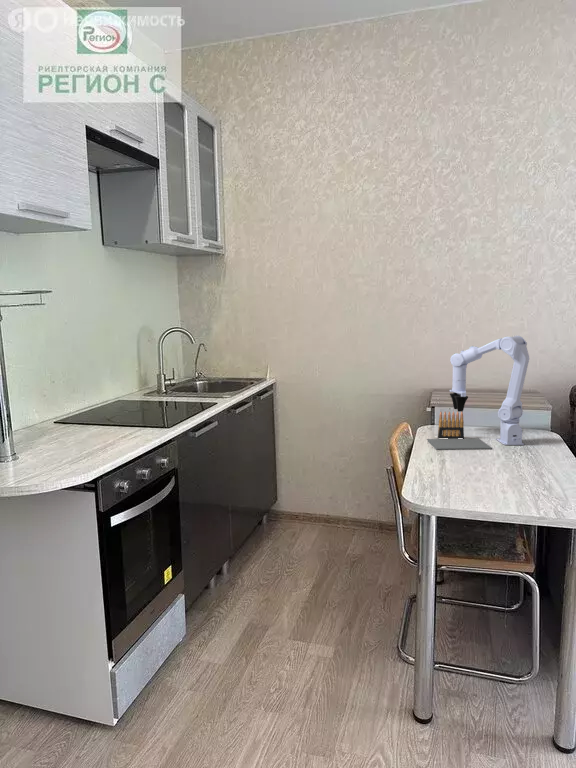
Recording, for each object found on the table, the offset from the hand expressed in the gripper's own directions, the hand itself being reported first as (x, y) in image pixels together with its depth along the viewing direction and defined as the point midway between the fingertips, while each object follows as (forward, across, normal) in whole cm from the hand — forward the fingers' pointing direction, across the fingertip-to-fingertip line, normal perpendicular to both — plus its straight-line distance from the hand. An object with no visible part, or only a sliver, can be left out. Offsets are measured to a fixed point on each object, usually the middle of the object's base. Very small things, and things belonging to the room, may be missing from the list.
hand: (458, 410), depth 241 cm
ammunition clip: (+11, +10, -6) cm, 16 cm away
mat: (+10, +21, -6) cm, 24 cm away
